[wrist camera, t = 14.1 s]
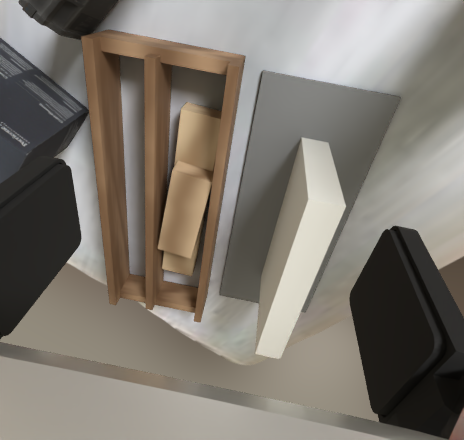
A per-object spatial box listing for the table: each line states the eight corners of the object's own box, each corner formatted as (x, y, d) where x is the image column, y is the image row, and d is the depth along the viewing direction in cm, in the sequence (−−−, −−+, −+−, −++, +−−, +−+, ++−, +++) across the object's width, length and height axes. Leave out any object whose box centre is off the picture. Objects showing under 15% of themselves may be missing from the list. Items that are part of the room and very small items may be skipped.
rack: (245, 55, 33) (239, 67, 28) (207, 294, 54) (200, 322, 50) (108, 29, 33) (81, 36, 29) (123, 277, 54) (109, 303, 50)
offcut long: (227, 110, 37) (222, 119, 34) (196, 262, 51) (191, 276, 49) (187, 100, 37) (181, 108, 34) (167, 255, 51) (162, 268, 49)
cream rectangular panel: (328, 142, 37) (345, 206, 26) (281, 279, 49) (280, 359, 39) (301, 137, 37) (308, 199, 26) (261, 275, 50) (255, 353, 39)
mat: (399, 96, 33) (401, 97, 33) (305, 310, 53) (305, 312, 53) (263, 70, 33) (262, 71, 33) (220, 293, 54) (219, 295, 53)
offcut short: (215, 172, 38) (212, 182, 36) (194, 246, 45) (190, 258, 43) (178, 160, 38) (172, 170, 36) (163, 237, 45) (157, 248, 43)
